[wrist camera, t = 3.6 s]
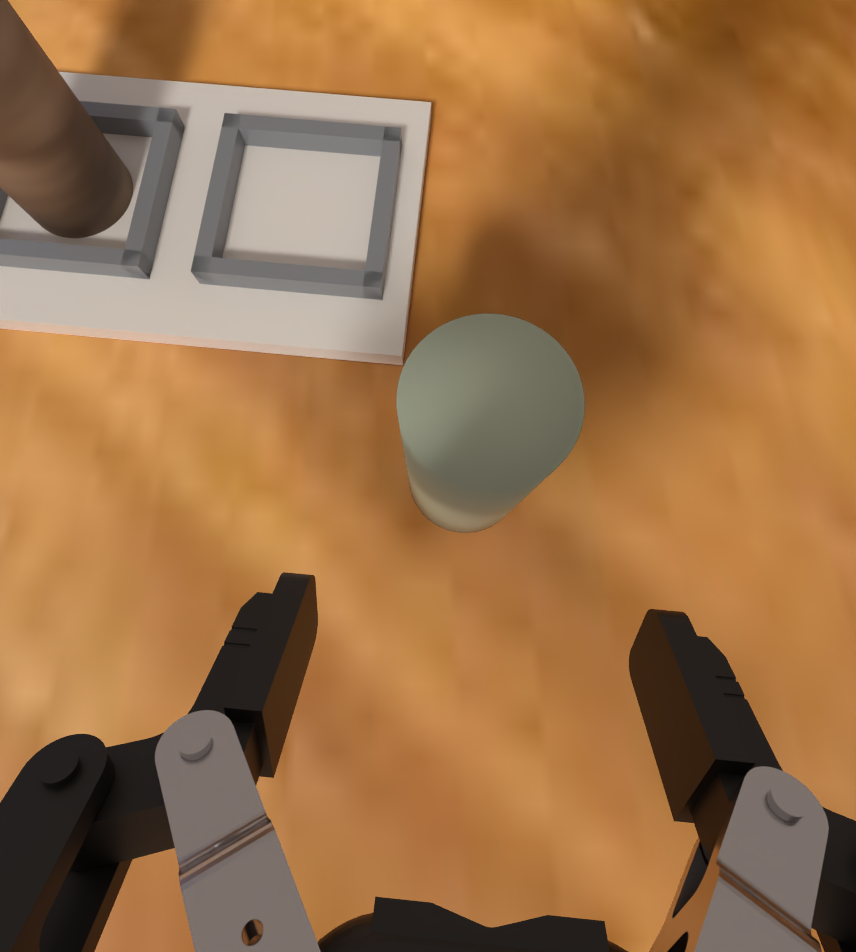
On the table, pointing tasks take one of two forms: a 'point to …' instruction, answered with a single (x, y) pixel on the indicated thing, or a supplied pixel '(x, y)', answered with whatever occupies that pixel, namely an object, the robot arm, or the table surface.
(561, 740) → the table surface
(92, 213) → the walnut column
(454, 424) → the sage column
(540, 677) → the table surface
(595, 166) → the table surface
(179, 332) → the base plate
